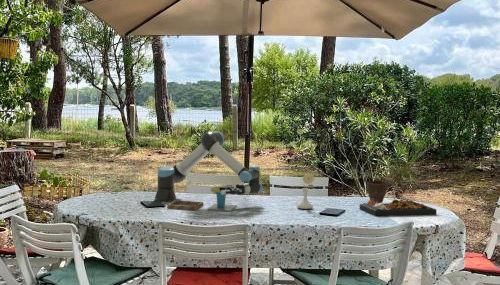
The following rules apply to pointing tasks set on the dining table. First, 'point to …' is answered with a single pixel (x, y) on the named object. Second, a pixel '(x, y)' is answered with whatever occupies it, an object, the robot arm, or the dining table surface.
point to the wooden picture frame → (183, 203)
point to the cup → (220, 196)
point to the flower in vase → (305, 203)
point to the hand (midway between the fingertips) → (215, 191)
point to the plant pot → (377, 190)
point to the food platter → (396, 208)
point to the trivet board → (227, 208)
